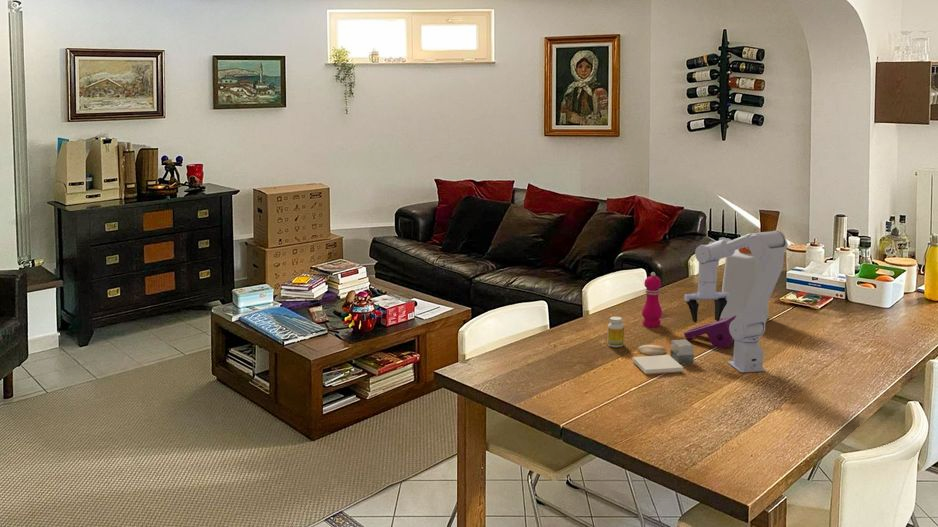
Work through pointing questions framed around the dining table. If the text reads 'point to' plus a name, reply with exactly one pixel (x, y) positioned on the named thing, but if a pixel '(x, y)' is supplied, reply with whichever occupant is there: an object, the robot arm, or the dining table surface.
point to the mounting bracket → (714, 332)
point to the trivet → (657, 364)
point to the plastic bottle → (740, 281)
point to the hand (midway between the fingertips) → (705, 321)
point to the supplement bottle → (615, 332)
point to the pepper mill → (652, 302)
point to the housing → (682, 351)
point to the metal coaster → (652, 349)
